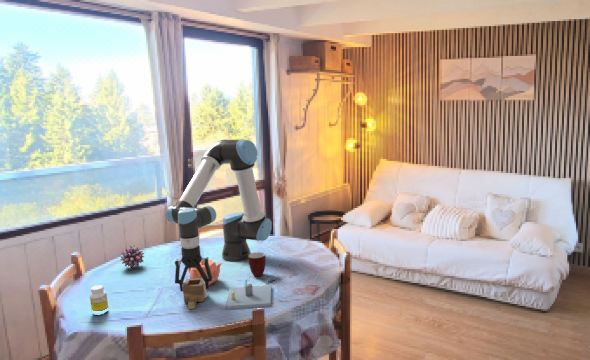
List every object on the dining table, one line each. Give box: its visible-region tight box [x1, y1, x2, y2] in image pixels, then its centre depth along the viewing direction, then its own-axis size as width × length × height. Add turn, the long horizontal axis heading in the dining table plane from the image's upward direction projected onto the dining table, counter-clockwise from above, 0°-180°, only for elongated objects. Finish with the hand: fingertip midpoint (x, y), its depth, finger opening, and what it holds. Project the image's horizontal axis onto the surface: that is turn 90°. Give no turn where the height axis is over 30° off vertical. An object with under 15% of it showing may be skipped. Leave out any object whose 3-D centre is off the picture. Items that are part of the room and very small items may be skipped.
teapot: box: [187, 259, 224, 287], centre depth 207 cm, size 14×14×11 cm
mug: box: [247, 251, 267, 278], centre depth 211 cm, size 11×8×10 cm
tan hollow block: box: [182, 278, 206, 310], centre depth 187 cm, size 14×8×7 cm, turn 2°
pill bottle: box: [89, 284, 109, 311], centre depth 182 cm, size 6×6×11 cm
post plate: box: [225, 283, 272, 310], centre depth 189 cm, size 18×18×6 cm
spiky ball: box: [120, 244, 145, 268], centre depth 231 cm, size 12×12×12 cm
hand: (195, 297), depth 191 cm, fingers closed on tan hollow block, 8 cm apart
